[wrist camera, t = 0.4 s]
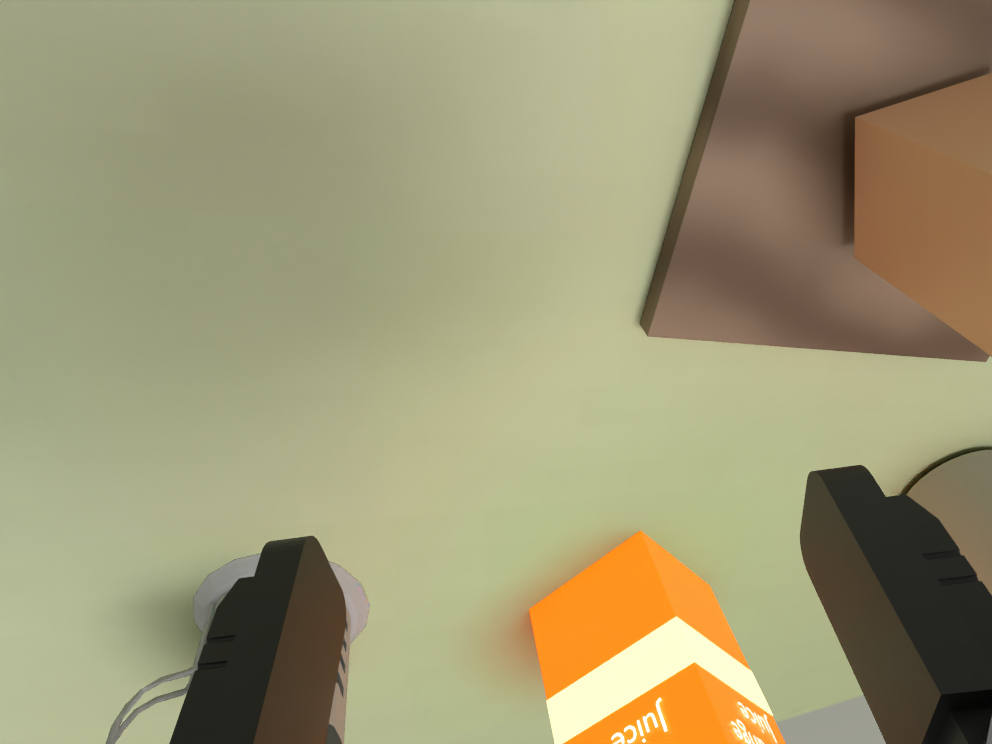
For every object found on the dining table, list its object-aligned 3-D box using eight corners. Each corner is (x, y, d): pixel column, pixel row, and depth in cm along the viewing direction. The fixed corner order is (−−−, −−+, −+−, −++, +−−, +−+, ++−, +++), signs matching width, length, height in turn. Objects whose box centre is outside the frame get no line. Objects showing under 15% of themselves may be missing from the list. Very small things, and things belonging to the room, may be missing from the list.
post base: (780, -153, 23) (1006, -197, 15) (1207, -57, 27) (1594, -48, 18) (639, 323, 32) (728, 465, 24) (969, 349, 36) (1149, 482, 27)
